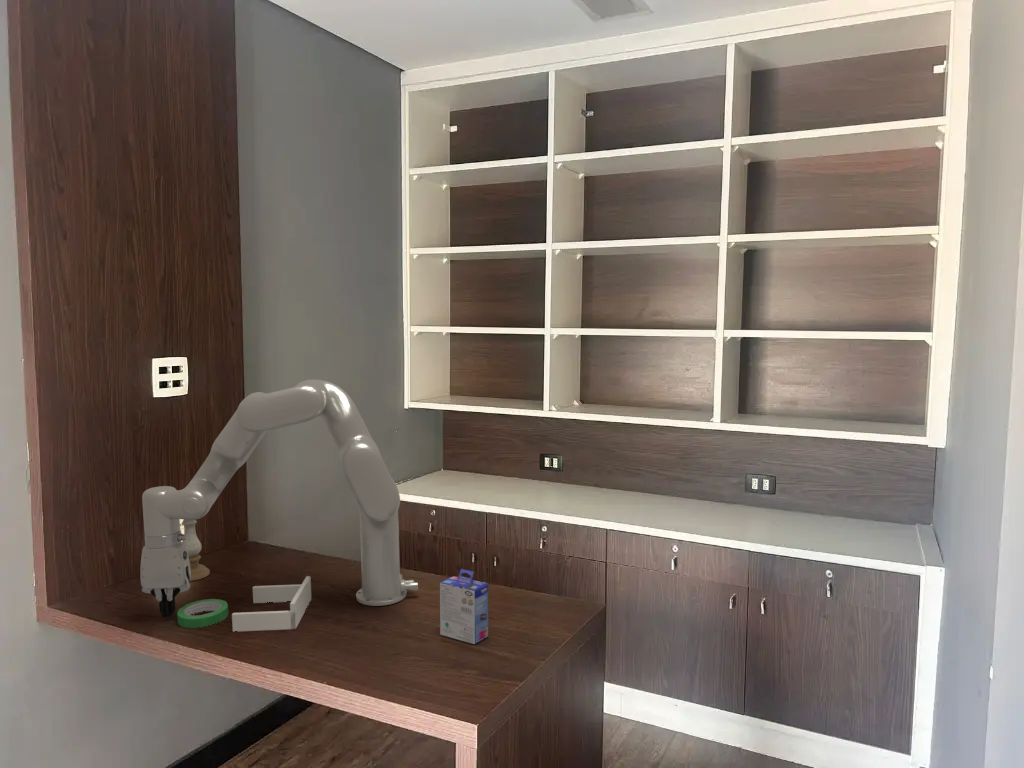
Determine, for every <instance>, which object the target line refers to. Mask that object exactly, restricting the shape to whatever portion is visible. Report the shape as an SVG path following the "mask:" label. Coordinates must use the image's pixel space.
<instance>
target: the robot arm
mask: <svg viewBox="0 0 1024 768" xmlns="http://www.w3.org/2000/svg"><path fill="white" fill-rule="evenodd" d="M318 417H320V418H321V419H322V420H323V422H324V425H325V426H326V429H327V430H328V432H329V433H328V434H330V436H331V438H332V440H333V442H334V444H335V446H336V448H337V451H338V454H339V461H340V463H339V464H340V468H341V470H342V473H343V475H344V477H345V480H346V481H347V483H348V486H349V488H350V490H351V491H352V494H353V495H354V498H355V500H356V502H357V504H358V510H359V511H358V512H359V534H360V538H359V539H360V561H361V563H360V564H361V568H360V569H361V588H360V589H358V591H356V593H355V597H356V601H357V602H358V603H360V604H362V605H365V606H371V607H378V606H379V607H381V606H388V605H393V604H396V603H399V602H401V601H403V600H404V599H405V598H406V597H407V593H408V592H407V591H418V590H419V583H418V582H417V581H415V580H414V579H408V580H406V579H404V578H403V574H401V572H400V571H401V566H400V565H401V563H400V539H399V538H400V528H399V509H400V505H401V497H400V491H399V489H398V486H397V484H396V482H395V480H394V478H392V476H391V474H390V472H389V469H388V467H387V465H386V463H385V460H384V459H383V457H382V455H381V452H380V449H379V447H378V445H377V443H376V441H374V438H373V437H372V435H371V433H370V432H369V429H368V427H367V425H366V423H365V421H364V419H363V418H362V415H361V413H360V411H359V410H358V407H357V405H356V404H355V402H354V401H353V399H352V398H351V397H350V395H349V394H348V393H347V392H346V391H345V390H344V389H343V388H341V387H340V386H339V385H338V384H336V383H335V384H334V383H333V382H330V381H328V380H322V379H306V380H303V381H300V382H298V383H297V384H296V385H294V387H289V388H285V389H281V390H277V391H272V392H267V393H266V392H262V391H257V392H252V393H249V394H248V395H247V396H246V397H244V399H242V400H241V401H240V403H239V404H238V407H237V409H236V410H235V412H234V413H233V415H232V416H231V417H230V419H229V420H228V422H227V423H226V424H225V426H224V427H223V429H222V430H221V432H220V433H219V435H218V436H217V437H216V438H215V440H214V442H213V444H212V445H211V449H210V452H209V454H208V456H207V457H206V459H205V461H203V463H202V464H201V466H200V467H199V469H198V471H197V472H196V473H195V475H193V477H192V479H191V480H190V481H189V483H188V484H187V485H186V486H185V487H184V488H183V489H178V490H177V489H176V488H175V487H174V486H170V485H169V486H168V485H162V486H155V487H150V488H148V489H146V490H145V491H143V492H142V498H141V499H142V514H143V515H142V517H143V518H142V519H143V529H144V530H143V531H144V532H143V533H144V544H145V545H143V547H142V551H141V556H140V557H141V558H140V567H139V568H140V569H139V570H140V573H139V574H140V585H141V587H142V588H141V592H142V593H145V594H149V595H150V594H151V595H152V596H153V597H155V599H156V601H157V602H158V603H159V604H158V605H159V613H160V614H161V618H170V617H171V616H172V615H173V614H174V612H175V611H176V599H175V597H177V596H178V595H179V594H180V593H184V592H187V591H189V590H190V588H191V584H190V581H189V580H190V579H191V569H190V562H189V556H188V552H187V548H186V545H185V542H182V541H183V540H186V538H187V535H186V534H184V533H182V530H181V522H180V521H181V520H196V521H197V520H199V519H201V518H203V517H205V516H206V515H207V514H208V513H209V512H210V510H211V508H212V507H213V505H214V504H215V502H216V500H217V499H218V498H219V496H220V495H221V493H222V492H223V490H225V488H226V486H227V484H228V483H229V482H230V481H231V479H232V477H233V476H234V475H235V473H236V472H237V471H238V470H239V468H241V467H243V465H244V464H245V463H246V462H247V460H248V459H249V458H250V456H251V455H252V453H253V452H254V450H256V447H257V446H258V445H259V443H260V441H262V439H263V437H265V435H266V434H267V432H268V431H273V430H278V429H282V428H286V427H290V426H295V425H299V424H303V423H308V422H311V421H313V420H315V419H317V418H318ZM166 589H167V591H166Z"/></svg>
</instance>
